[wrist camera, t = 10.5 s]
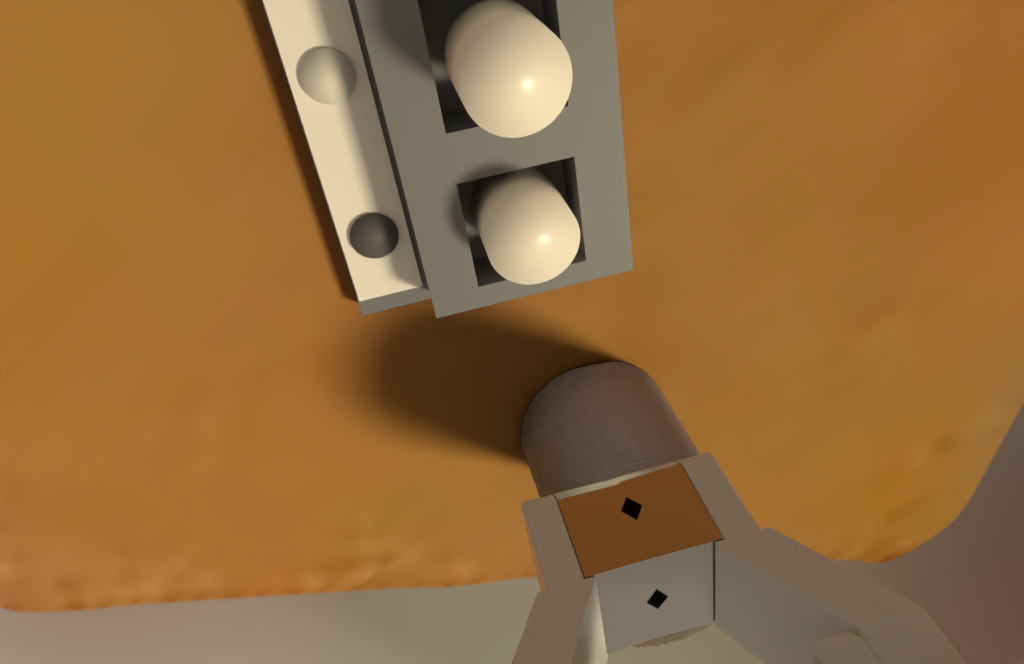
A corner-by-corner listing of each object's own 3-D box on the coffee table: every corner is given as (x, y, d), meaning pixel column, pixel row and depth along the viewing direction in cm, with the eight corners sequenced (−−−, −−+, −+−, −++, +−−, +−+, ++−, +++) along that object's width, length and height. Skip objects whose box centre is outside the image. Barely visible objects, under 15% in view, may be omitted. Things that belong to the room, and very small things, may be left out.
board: (576, -339, 29) (609, -358, 26) (623, 240, 44) (648, 274, 40) (178, -268, 28) (159, -279, 25) (361, 304, 42) (365, 344, 39)
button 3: (550, 153, 38) (575, 188, 35) (561, 232, 41) (584, 272, 37) (463, 173, 38) (479, 210, 34) (479, 251, 40) (495, 294, 37)
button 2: (537, -13, 32) (565, 9, 28) (550, 92, 35) (578, 124, 31) (433, 9, 32) (448, 34, 28) (455, 114, 34) (471, 149, 31)
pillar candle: (595, 493, 54) (679, 687, 42) (488, 441, 50) (548, 643, 37) (691, 397, 51) (811, 575, 39) (587, 332, 47) (687, 512, 34)
